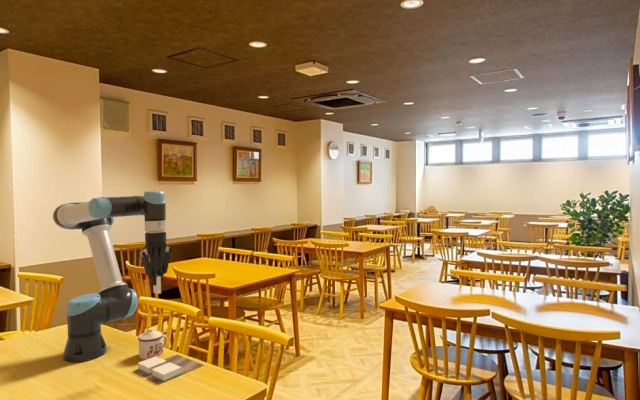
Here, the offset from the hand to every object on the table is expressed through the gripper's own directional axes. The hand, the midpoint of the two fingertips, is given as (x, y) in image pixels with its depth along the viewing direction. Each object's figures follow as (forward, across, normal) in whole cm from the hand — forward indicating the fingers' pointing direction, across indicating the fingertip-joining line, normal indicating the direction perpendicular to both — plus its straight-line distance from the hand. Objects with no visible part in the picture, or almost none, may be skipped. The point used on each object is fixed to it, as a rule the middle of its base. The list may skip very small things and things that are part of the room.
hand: (157, 292), depth 161 cm
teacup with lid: (+27, +1, +5) cm, 27 cm away
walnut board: (+26, -4, -12) cm, 29 cm away
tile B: (+24, -4, -16) cm, 29 cm away
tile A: (+24, -4, -8) cm, 25 cm away
